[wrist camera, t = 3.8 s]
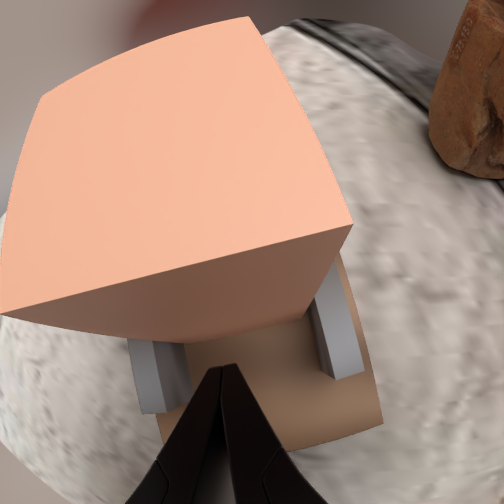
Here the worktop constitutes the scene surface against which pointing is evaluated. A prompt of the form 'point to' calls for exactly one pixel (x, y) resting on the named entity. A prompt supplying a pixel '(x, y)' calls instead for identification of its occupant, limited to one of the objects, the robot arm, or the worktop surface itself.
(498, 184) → the worktop surface
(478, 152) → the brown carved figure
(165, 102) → the block
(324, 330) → the chute
